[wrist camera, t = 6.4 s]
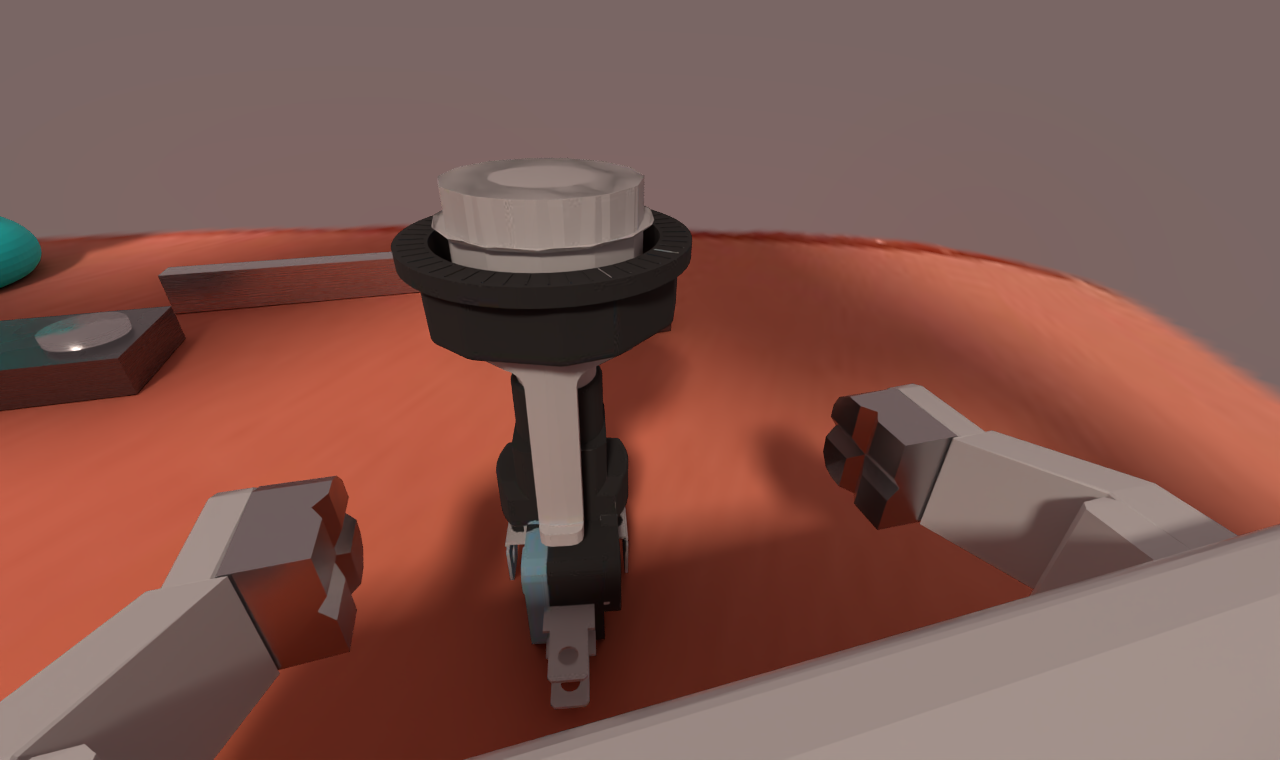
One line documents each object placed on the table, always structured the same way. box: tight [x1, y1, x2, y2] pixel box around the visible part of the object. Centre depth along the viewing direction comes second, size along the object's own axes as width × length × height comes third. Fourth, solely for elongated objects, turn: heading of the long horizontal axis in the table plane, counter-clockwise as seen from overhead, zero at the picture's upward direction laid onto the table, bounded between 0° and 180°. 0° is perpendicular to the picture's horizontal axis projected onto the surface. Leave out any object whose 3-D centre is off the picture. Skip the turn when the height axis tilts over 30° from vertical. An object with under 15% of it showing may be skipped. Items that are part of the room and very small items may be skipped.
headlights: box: [0, 252, 671, 410], centre depth 27 cm, size 31×9×2 cm, turn 107°
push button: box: [391, 158, 692, 709], centre depth 12 cm, size 7×5×10 cm
